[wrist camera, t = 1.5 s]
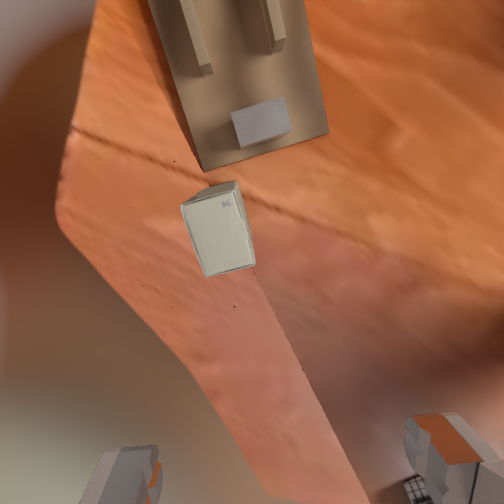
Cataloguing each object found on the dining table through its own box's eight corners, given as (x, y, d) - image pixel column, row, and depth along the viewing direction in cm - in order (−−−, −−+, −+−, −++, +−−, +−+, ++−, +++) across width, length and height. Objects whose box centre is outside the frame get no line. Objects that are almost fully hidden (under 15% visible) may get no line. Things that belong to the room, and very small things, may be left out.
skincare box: (201, 189, 32) (175, 200, 20) (237, 179, 31) (233, 184, 20) (217, 241, 33) (203, 280, 22) (252, 232, 33) (256, 266, 21)
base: (285, -70, 25) (293, -116, 21) (326, 134, 30) (338, 128, 26) (142, -20, 26) (124, -55, 22) (205, 171, 31) (199, 171, 27)
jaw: (279, 104, 28) (284, 95, 24) (286, 135, 29) (292, 130, 25) (232, 119, 28) (230, 112, 25) (240, 149, 29) (240, 146, 26)
